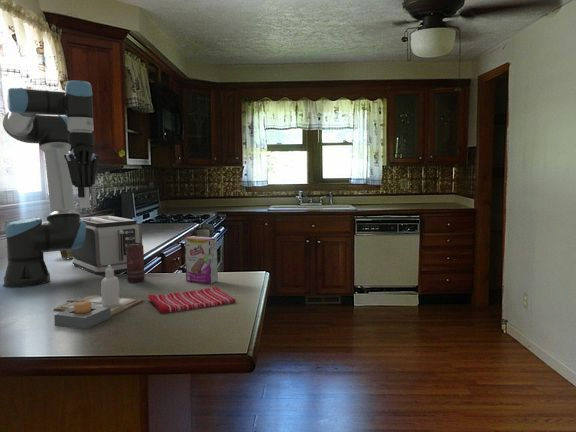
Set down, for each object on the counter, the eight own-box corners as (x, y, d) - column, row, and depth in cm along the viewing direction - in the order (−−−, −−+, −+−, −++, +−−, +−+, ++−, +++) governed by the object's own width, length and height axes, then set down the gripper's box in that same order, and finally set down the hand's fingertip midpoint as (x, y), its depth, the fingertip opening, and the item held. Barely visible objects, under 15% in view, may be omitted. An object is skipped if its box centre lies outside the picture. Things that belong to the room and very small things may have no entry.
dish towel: (146, 301, 153) (146, 293, 152) (217, 292, 163) (217, 284, 163) (158, 316, 137) (158, 307, 137) (236, 304, 148) (236, 296, 148)
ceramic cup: (83, 258, 225) (82, 237, 224) (59, 260, 219) (58, 239, 218) (77, 254, 236) (76, 234, 235) (55, 256, 230) (54, 236, 229)
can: (140, 283, 175) (138, 245, 174) (124, 282, 176) (122, 244, 175) (148, 279, 181) (146, 242, 180) (132, 278, 182) (131, 242, 181)
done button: (70, 315, 130) (70, 305, 130) (82, 311, 134) (81, 300, 134) (83, 317, 128) (83, 306, 128) (95, 312, 133) (94, 302, 132)
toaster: (100, 277, 186) (97, 224, 184) (70, 264, 212) (67, 218, 210) (146, 269, 199) (145, 220, 197) (113, 258, 224) (111, 215, 222)
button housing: (54, 325, 128) (54, 314, 128) (81, 314, 138) (81, 304, 137) (85, 329, 125) (84, 317, 125) (110, 317, 135) (110, 307, 134)
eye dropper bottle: (99, 304, 145) (97, 265, 144) (117, 300, 149) (116, 262, 148) (103, 307, 142) (101, 267, 141) (122, 304, 145) (121, 264, 144)
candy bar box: (185, 281, 177) (184, 237, 175) (193, 278, 182) (192, 235, 180) (210, 284, 172) (209, 239, 171) (218, 281, 177) (217, 237, 175)
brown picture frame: (49, 310, 142) (49, 306, 142) (87, 296, 158) (87, 292, 158) (110, 316, 136) (110, 312, 136) (143, 301, 151) (143, 297, 151)
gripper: (75, 130, 142) (79, 209, 145) (105, 133, 155) (108, 206, 157) (55, 131, 145) (59, 209, 147) (85, 133, 157) (89, 205, 159)
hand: (84, 207), depth 152 cm, fingers closed
